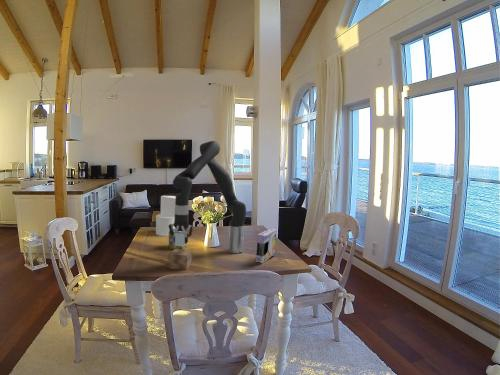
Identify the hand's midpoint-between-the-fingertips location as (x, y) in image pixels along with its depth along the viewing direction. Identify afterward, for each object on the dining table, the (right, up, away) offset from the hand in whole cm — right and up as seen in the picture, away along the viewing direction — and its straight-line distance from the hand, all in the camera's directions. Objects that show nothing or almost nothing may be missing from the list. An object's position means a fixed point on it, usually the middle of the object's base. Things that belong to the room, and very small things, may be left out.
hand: (180, 243), depth 179 cm
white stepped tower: (-25, -5, +71) cm, 75 cm away
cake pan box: (+48, -14, +19) cm, 53 cm away
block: (0, -1, 0) cm, 1 cm away
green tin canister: (-10, -9, +36) cm, 38 cm away
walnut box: (-1, -13, +1) cm, 13 cm away
